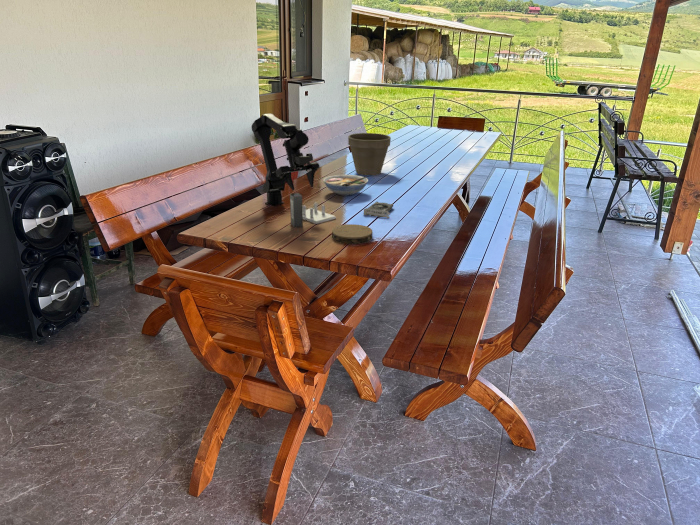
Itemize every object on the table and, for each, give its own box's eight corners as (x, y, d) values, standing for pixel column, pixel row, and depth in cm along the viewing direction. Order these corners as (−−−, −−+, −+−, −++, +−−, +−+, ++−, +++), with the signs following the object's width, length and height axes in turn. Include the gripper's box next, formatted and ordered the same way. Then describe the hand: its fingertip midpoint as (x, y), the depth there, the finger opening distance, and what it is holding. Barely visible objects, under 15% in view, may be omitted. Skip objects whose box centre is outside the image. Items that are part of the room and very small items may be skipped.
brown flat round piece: (359, 229, 215) (360, 222, 214) (380, 241, 202) (380, 233, 201) (325, 234, 208) (325, 227, 207) (343, 247, 195) (343, 239, 194)
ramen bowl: (339, 185, 281) (339, 170, 278) (377, 191, 271) (377, 176, 267) (313, 196, 261) (312, 179, 258) (352, 203, 251) (352, 186, 248)
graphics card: (389, 212, 227) (363, 208, 231) (388, 220, 228) (362, 216, 232) (399, 203, 241) (375, 199, 245) (399, 211, 243) (374, 207, 247)
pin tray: (292, 215, 230) (292, 204, 228) (311, 210, 238) (311, 199, 236) (316, 223, 220) (316, 212, 218) (335, 218, 227) (335, 207, 225)
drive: (290, 223, 220) (289, 193, 215) (299, 222, 221) (298, 192, 216) (294, 227, 215) (293, 196, 210) (302, 226, 217) (302, 195, 212)
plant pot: (387, 178, 298) (388, 140, 290) (344, 176, 302) (344, 138, 293) (391, 169, 321) (392, 133, 313) (351, 167, 324) (351, 132, 316)
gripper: (282, 149, 211) (292, 186, 211) (321, 144, 221) (330, 180, 221) (271, 157, 220) (280, 193, 220) (309, 153, 230) (318, 187, 230)
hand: (303, 188), depth 222 cm, fingers open, 9 cm apart
